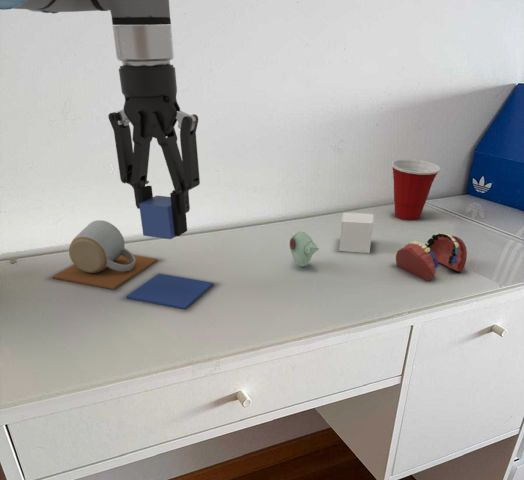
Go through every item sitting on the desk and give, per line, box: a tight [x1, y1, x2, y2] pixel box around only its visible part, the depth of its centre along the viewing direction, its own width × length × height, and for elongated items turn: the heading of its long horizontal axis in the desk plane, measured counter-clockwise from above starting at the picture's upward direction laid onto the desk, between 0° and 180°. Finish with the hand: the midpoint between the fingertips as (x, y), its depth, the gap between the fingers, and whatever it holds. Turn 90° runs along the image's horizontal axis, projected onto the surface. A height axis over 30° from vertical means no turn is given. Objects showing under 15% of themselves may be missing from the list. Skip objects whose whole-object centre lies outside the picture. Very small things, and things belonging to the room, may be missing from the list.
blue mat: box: [126, 273, 215, 310], centre depth 87 cm, size 11×10×1 cm
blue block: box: [139, 195, 177, 240], centre depth 81 cm, size 5×5×5 cm
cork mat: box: [52, 254, 158, 290], centre depth 95 cm, size 13×14×1 cm
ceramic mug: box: [68, 219, 136, 273], centre depth 93 cm, size 11×8×8 cm
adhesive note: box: [338, 212, 374, 254], centre depth 103 cm, size 6×6×6 cm
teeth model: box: [395, 232, 468, 282], centre depth 93 cm, size 8×6×12 cm
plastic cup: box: [390, 158, 441, 221], centre depth 118 cm, size 11×11×12 cm
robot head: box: [289, 230, 320, 268], centre depth 94 cm, size 8×4×7 cm, turn 25°
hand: (165, 230), depth 82 cm, fingers closed on blue block, 5 cm apart
